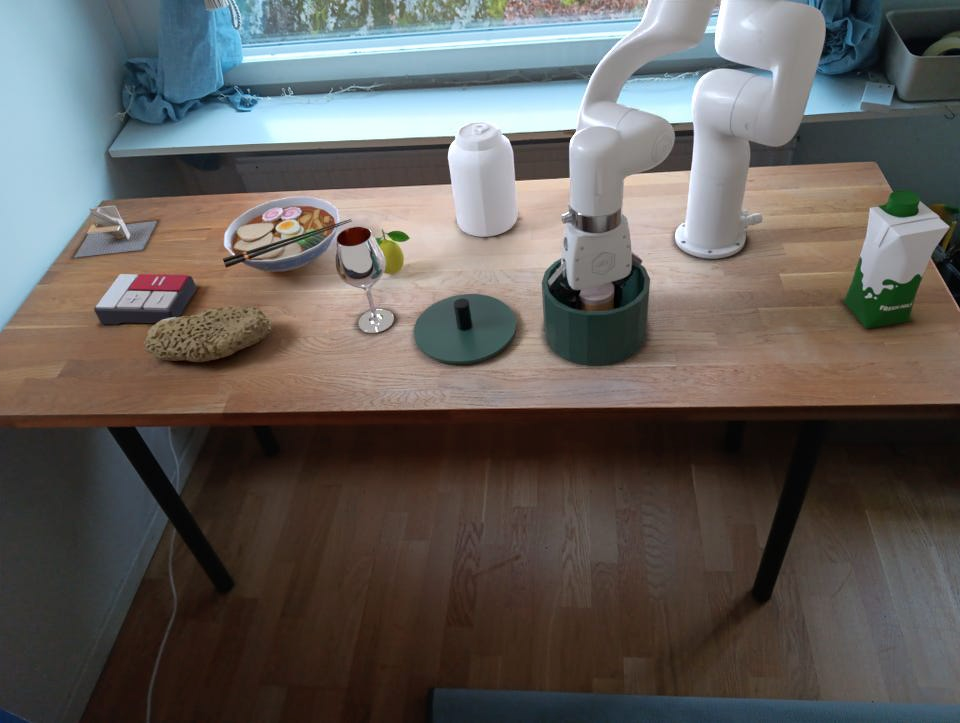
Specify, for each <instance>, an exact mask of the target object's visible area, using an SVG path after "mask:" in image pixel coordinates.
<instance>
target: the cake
mask: <svg viewBox="0 0 960 723" xmlns="http://www.w3.org/2000/svg"><path fill="white" fill-rule="evenodd" d="M579 298H580V300H581V310H582V311H587V312H598V311H609V310H613V309H614V285H613V284H612V283H611V282H609V283H605V284H602V285H598V286H595V287H591V288H587V289H583V290H581V292H580V295H579Z"/></svg>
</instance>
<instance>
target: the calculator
mask: <svg viewBox="0 0 960 723" xmlns="http://www.w3.org/2000/svg"><path fill="white" fill-rule="evenodd" d="M196 290H197V286H196V282H195V281H194V278H193V276H192V275H188V274H165V273H163V274H161V273H160V274H159V273H139V274H135V273H134V274H133V273H132V274H131V273H120V274H119V275H118V276H117V277H116V279H115V280H114V281H113V283H112V284H111V285H110V286H109V288H108V289H107V291H105V293H104V295H103V296H102V297H101V298H100V300H99V301H98V302H97V304H96V305H95V307H94V308H93V311H94V314H95V315H96V317H97V318H98V320H99V323H100V324H101V325H117V326H118V325H121V324H122V323H133V324H156V323H157V322H159V321H160V320H163V319H167V318H172V317H176V318H177V317H181V314H182V313H183V311H184V309H185V308H186V306H187V305H188V303H189V301H190V300H191V298H192V296H193V295H194V293H195V292H196Z"/></svg>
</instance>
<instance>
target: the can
mask: <svg viewBox="0 0 960 723" xmlns="http://www.w3.org/2000/svg"><path fill="white" fill-rule="evenodd" d="M454 138H455V139H454V140H453V141H452V143H451V144H450V146H449V148H448V153H447V160H448V166H449V173H450V174H449V175H450V181H451V182H450V183H451V188H452V196H453V202H454V210H455V217H456V222H457V226H458V227H459V228H460V230H462V232H464V233H465V234H468V235H470V236H474V237H481V238H483V237H485V238H486V237H487V238H488V237H494V236H498V235H500V234H503V233H506V232H508V231H509V230H511V229H512V228H513V227H514V225H516V223H517V221H518V216H519V214H518V200H517V186H516V184H517V183H516V173H515V172H516V171H515V159H514V158H515V157H514V150H513V147H512V144H511V142H510V139H509V138H507V137H506V136H505V135H503V134H502V130H501V128H500V127H499V125H497V124H496V123H494V122H491V121H486V120H485V121H484V120H483V121H472V122H468V123H465V124H464V125H462V126H460V127H459V128H458V129H457V131H456V132H455V136H454Z"/></svg>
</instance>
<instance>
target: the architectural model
mask: <svg viewBox="0 0 960 723" xmlns="http://www.w3.org/2000/svg"><path fill="white" fill-rule="evenodd" d="M89 211H90V214H91V215H92V217H93V219H94V220H95V221H92V223H93V224H91V225H90V227H89V228H88V230H87V231H86V234H87V236H86V238H85V239H84V241H83V242H82V244H81V245H80V247H79V249H78V250H77V252H76V254H75V255H74V257H73V258H83V257H91V256H99V255H100V256H101V255H108V254H109V255H110V254H118V253H126V252H132V251H133V252H134V251H135V252H136V251H143V250H144V248H145V247H146V245H147V243H148V241H149V239H150V237H151V235H152V233H153V231H154V229H155V227H156V225H157V222H158V220H153V221H147V222H146V221H144V222H136V223H135V222H134V223H128V224H126V223H125V222H124V220H123V219H122V216H121V215H120V212H119V210H118V209H117V207H116V205H107V206H99V207H91V208H89Z"/></svg>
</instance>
